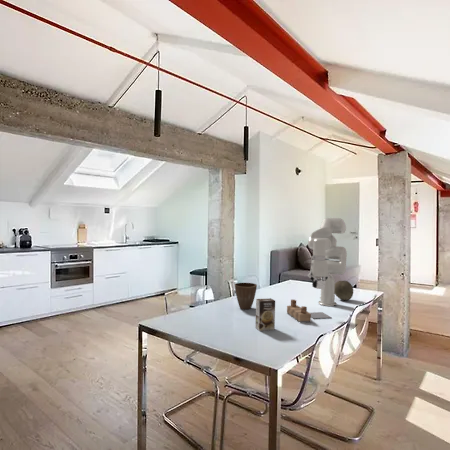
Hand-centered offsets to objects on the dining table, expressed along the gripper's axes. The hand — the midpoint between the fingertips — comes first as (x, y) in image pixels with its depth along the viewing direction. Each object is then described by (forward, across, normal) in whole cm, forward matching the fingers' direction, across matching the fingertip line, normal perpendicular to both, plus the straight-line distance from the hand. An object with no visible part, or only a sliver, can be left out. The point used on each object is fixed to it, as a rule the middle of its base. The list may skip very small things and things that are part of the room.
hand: (318, 287), depth 214 cm
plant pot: (+19, -41, +24) cm, 51 cm away
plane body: (+18, -14, -2) cm, 23 cm away
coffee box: (+19, -41, -20) cm, 49 cm away
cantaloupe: (+18, +39, +38) cm, 58 cm away
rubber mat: (+18, 0, 0) cm, 18 cm away
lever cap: (0, 0, 0) cm, 0 cm away
